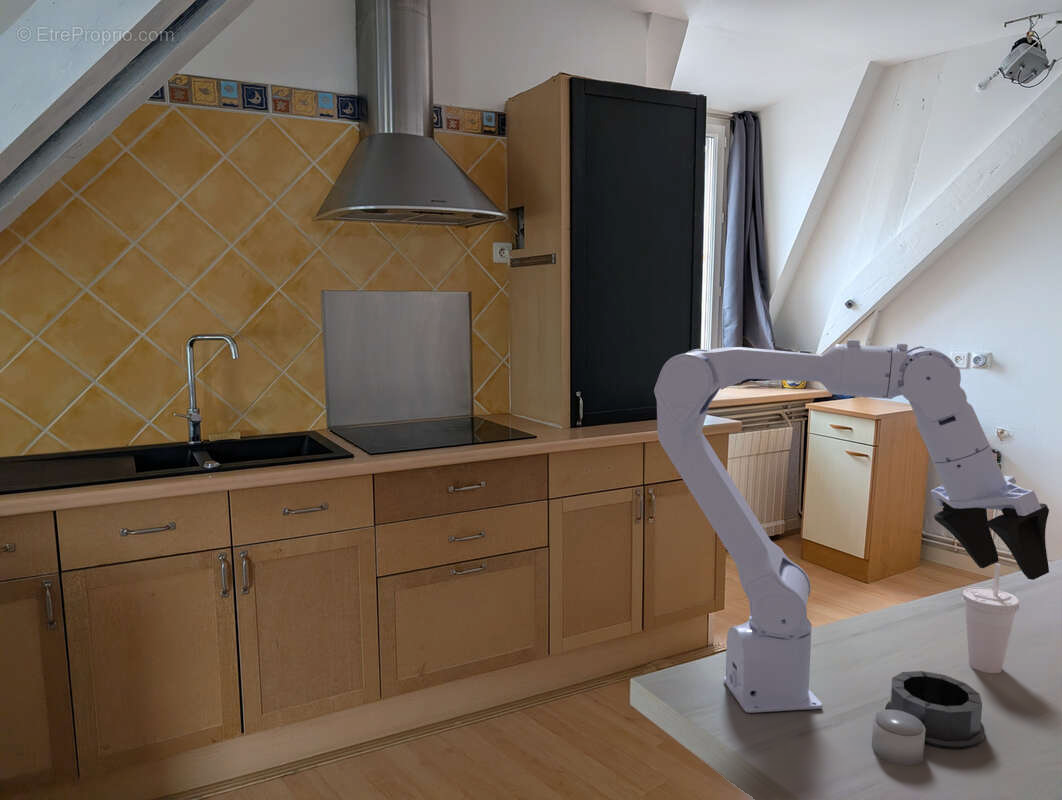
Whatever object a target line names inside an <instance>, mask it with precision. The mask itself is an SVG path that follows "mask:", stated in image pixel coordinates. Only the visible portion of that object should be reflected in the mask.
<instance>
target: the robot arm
mask: <svg viewBox="0 0 1062 800" xmlns="http://www.w3.org/2000/svg"><path fill="white" fill-rule="evenodd" d="M908 347H909V346H908V344H907V343H900V342H899V343H897V344H896V347H895V346H894V347H893V346H892V347H891V346H880V345H861V341H860V339H852V338H850V339H849V338H848V339H847V340H846V344H845V343H843V344H842V343H836V344H834V345H833V346H832V347H830V348H829V349H828V350H827V351H826V352H825V353H823V354H819V353H808V352H800V351H799V352H796V351H785V350H777V349H775V350H774V349H765V348H755V347H745V346H734V347H733V346H732V347H719V348H712V349H709V350H708V349H705V348H696V349H691V350H689V351H687V352H685V353H680V354H677V355H674V356H672V357H670V358H669V359H668V360H667V361H665V363H664V364H663V366H662V368H661V370H660V373H659V375H658V378H657V381H656V384H655V386H654V389H653V393H654V395H655V399H656V420H657V421H656V425H657V426H656V427H657V429H656V430H657V439H658V441H659V444H660V445H661V447H662V448H663V450H664V453H666V455H667V456H668V458H669V459H670V461H671V463H672V465H673V466H674V467H675V469H676V470H677V472H678V474H679V475H680V478H681V479H682V480H683V482H684V483H685V485H686V487H687V488H688V490H689V491H690V493H691V494H692V496H693V498H694V500H695V501H696V503H697V504H698V506H699V507H700V509H701V511H702V512H703V514H704V515H705V517H706V518H707V521H708V522H709V524H710V525H711V527H712V528H713V530H714V532H715V533H716V534H717V536H718V538H719V539H720V541H721V543H722V544H723V546H724V547H725V549H726V550H727V552H728V554H729V555H730V556H731V559H732V560H733V562H734V563H735V566H736V570H737V573H738V577H739V582H740V585H741V586H740V587H741V589H742V590H743V591H744V593H745V596H746V597H747V599H748V603H749V612H750V613H749V614H750V615H749V617H748V621H745V622H744V623H742V624H739V625H734V626H731V627H729V629H728V631H727V635H726V636H727V637H726V651H725V652H726V653H725V655H726V656H725V657H726V659H725V660H726V662H725V676H723V681H724V683H725V684H726V686H727V687H728V689H729V690H730V692H731V693H732V694H733V696H734V697H735V699H736V701H738V703H739V705H740V706H741V708H742V709H743V711H744V712H746V713H767V712H782V711H783V712H785V711H800V710H814V709H815V710H817V709H820V710H821V709H822V708H823V707H824V705H823V703H822V701H821V700H820V699H819V698H818V697H817V696H816V695H815V694H814V693H813V691H812V690H811V689H810V671H811V670H810V669H811V650H812V648H811V646H812V623H811V621H810V620H809V618H808V617H807V616H808V612H807V611H808V608H807V607H808V600H809V596H810V594H811V585H812V584H811V581H810V578H809V576H808V574H807V573H806V571H805V570H804V569H803V568H802V567H801V566H800V565H799V564H796V563H795V562H794V561H792V560H790V558H788V556H787V555H786V554H785V552H784V550H783V549H782V548H781V547H780V546H779V545H777V544H776V543H775V542H774V541H772V540H771V538H770V537H769V536H768V534H767V532H766V531H765V529H764V528H763V526H762V524H761V523H760V521H759V520H758V517H757V516H756V515H755V514H754V512H753V510H752V509H751V508H750V506H749V504H748V502H747V500H746V498H745V497H744V496H743V495H742V492H741V491H740V490H739V488H738V487H737V485H736V483H735V482H734V480H733V479H732V477H731V475H730V473H729V472H728V471H727V470H726V467H725V466H724V465H723V463H722V461H721V459H720V458H719V456H718V455H717V454H716V452H715V450H714V449H713V447H712V445H711V444H710V443H709V441H708V439H707V437H706V436H705V434H704V433H703V428H704V424H705V421H706V417H707V414H708V411H709V406H710V405H711V403H712V401H713V400H714V398H715V397H716V396H717V394H718V392H719V391H720V390H724V389H726V388H729V387H732V386H734V385H735V384H738V383H741V382H742V381H745V380H748V379H749V380H750V379H752V380H753V379H754V380H771V381H772V380H774V381H775V380H776V381H794V382H796V381H797V382H816V383H817V382H818V383H820V384H821V385H823V387H824V388H825V389H826V390H827V392H828V393H830V394H831V395H836V396H837V395H838V396H847V397H850V396H851V397H861V398H873V399H887V400H892V399H894V398H896V397H899V396H902V397H904V398H905V399H906V400H907V401H908V402H909V404H910V406H911V408H912V411H913V413H914V416H915V419H916V422H915V425H916V427H917V430H918V432H919V434H920V437H921V439H922V441H923V443H924V445H925V447H926V450H927V451H928V454H929V456H930V458H931V461H932V464H933V465H934V469H935V470H936V473H937V475H938V477H939V479H940V481H941V483H942V485H940V486H938V487H936V488H934V489H931V490H930V495H931V496H932V499H933V501H934V503H935V505H936V507H942V510H940V511H938V512H936V513H935V514H934V515H933V518H934V520H935V522H937V523H938V524H940V525H941V526H942V527H944V528H945V529H946V530H947V531H948V532H949V533H950V534H951V535H952V536H953V537H954V538H955V539H956V540H957V542H959V544H960V545H961V546H962V547H963V548H964V550H965V552H966V553H967V554H968V555H969V556H970V558H971V560H973V562H974V563H975V564H976V565H977V566H978V568H980V569H985V568H987V567H989V566H992V565H995V564H997V563H998V562H999V554H998V551H997V550H998V549H997V548H996V545H995V541H994V539H993V536H992V533H991V531H993V533H995V534H996V535H997V537H998V538H1000V540H1001V541H1002V542H1003V543H1004V544H1005V545H1006V546H1005V547H1007V549H1008V550H1009V552H1010V553H1011V555H1012V556H1013V558H1014V560H1015V562H1016V564H1017V565H1018V567H1019V569H1020V570H1021V572H1022V574H1023V575H1024V576H1025V577H1026V578H1027V580H1032V581H1033V580H1037V579H1038V578H1040V577H1043V576H1045V575H1046V574H1048V573H1049V574H1050V567H1049V561H1048V553H1047V545H1046V544H1047V543H1046V528H1047V520H1048V516H1049V513H1050V509H1049V507H1048V505H1047V504H1046V503H1042V502H1041V503H1040V502H1039V499H1038V498H1037V494H1036V493H1035V490H1031V489H1025V488H1023V487H1020V486H1018V485H1016V483H1017V480H1016V478H1015V476H1012V475H1011V476H1010V475H1008V476H1007V475H1004V474H1003V472H1002V470H1001V467H1000V465H999V463H998V461H997V458H996V456H995V453H994V451H993V450H992V448H991V444H990V443H989V440H988V438H987V436H986V433H985V432H984V429H983V427H982V425H981V423H980V420H979V418H978V416H977V414H976V411H975V409H974V407H973V405H972V404H971V403H969V402H968V401H967V399H968V398H967V397H968V396H967V394H966V391H965V390H964V389H963V387H961V381H962V380H961V379H962V375H961V369H960V367H959V366H957V365H956V364H955V363H954V361H953V360H952V359H951V358H950V357H949V356H947V355H945V354H944V353H943V352H941V351H939V350H937V349H934V348H929V347H924V346H921V345H919V346H915V347H912V348H909V349H908ZM987 509H989V510H996V511H997V510H998V511H1001V513H1002V514H1000V515H998V516H996V517H994V518H991V519H988V511H987Z"/></svg>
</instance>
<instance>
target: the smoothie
mask: <svg viewBox="0 0 1062 800" xmlns="http://www.w3.org/2000/svg"><path fill="white" fill-rule="evenodd" d="M1000 575H1001V564H1000V563H994V576H993V588H991V587H990V588H989V587H983V586H982V587H981V586H980V587H979V586H977V587H968V588H965V589H963V591H962V596H961V600H962V601H963V602H964V610H965V622H966V623H965V624H966V639H967V652H968V664H969V666H970V667H971V668H972V669H975V670H976V671H979V672H982V673H987V674H998V673H1001V672H1002V670H1003V666H1004V662H1005V657H1006V654H1007V649H1008V645H1009V640H1010V637H1011V633H1012V628H1013V624H1014V621H1015V615H1016V612H1018V611H1019V610H1020V600H1019V598H1017V596H1015V595H1013V594H1011V593H1010V592H1007V591H1004V590H1000V589H999V588H1000V587H999V585H1000Z"/></svg>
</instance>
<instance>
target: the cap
mask: <svg viewBox="0 0 1062 800" xmlns="http://www.w3.org/2000/svg"><path fill="white" fill-rule="evenodd" d="M872 721H873V722H872V734H871V735H872V737H871V749H872V751H873V752H874V753H875V754H876V755H877V756H879V757H880V758H881V759H883V760H885V761H887V762H889V763H893V764H897V765H899V766H901V765H902V766H915V765H919V764H920V763H922V762H923V761H924V754H925V753H924V752H925V744H924V743H925V727H924V725H923V723H922V722H921V721H920V720H919V719H918V718H916V717H915V716H913V715H911V714H909V713H906V712H903V711H899V710H885V709H883V710H879V711H878V712H876V713H875V714H874V716H873V718H872Z"/></svg>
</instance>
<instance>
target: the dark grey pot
mask: <svg viewBox="0 0 1062 800" xmlns="http://www.w3.org/2000/svg"><path fill="white" fill-rule="evenodd" d="M890 689H891V690H890V700H889V701H888V702H887V703H886V705H885V709H884V710H899V711H903V712H906V713H909V714H911V715H913V716H915V717H916V718H918V719H919V720H920V721H921V722H922V723H923V725H924V727H925V743H924V745H926V746H930V747H934V748H939V749H944V750H945V749H946V750H968V749H973V748H976V747H977V746H979V745H981V744H982V743H983V741H985V740H984V739H985V733H986V731H985V726H984V724H983V723H982V711H983V702H982V698H981V694H980V693H979V692H978V691H976V690H975V689H974V688H972V687H971V686H970V685H968V684H967V682H964V681H961V680H959V679H956V678H954V677H950V676H948V675H946V674H940V673H937V672H929V671H923V670H918V671H917V670H915V671H902V672H900V673H898V674H896V675H895V676H893V677H892V678H891V688H890Z"/></svg>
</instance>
